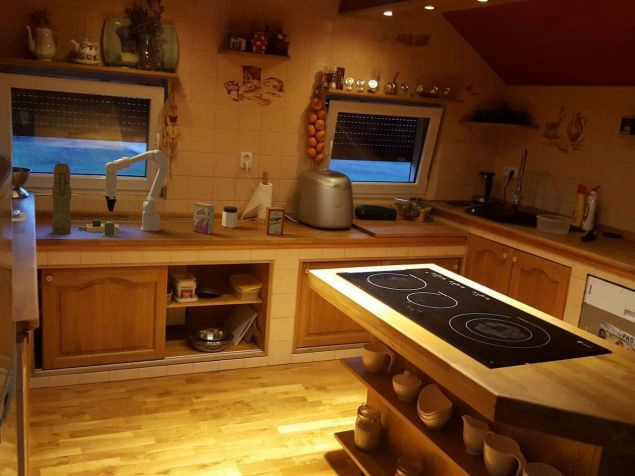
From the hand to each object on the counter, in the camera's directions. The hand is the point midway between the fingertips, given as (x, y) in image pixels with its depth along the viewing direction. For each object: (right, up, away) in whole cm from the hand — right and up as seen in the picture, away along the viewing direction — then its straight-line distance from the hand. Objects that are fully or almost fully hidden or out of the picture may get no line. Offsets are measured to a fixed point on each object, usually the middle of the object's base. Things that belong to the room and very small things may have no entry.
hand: (110, 210), depth 322 cm
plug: (-6, -8, -4) cm, 11 cm away
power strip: (-5, -11, -3) cm, 12 cm away
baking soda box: (+85, -13, +29) cm, 91 cm away
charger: (+3, -13, -11) cm, 17 cm away
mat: (+3, -13, -10) cm, 17 cm away
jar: (+58, -8, +39) cm, 70 cm away
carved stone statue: (-20, -12, -15) cm, 28 cm away
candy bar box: (+46, -12, +16) cm, 51 cm away
